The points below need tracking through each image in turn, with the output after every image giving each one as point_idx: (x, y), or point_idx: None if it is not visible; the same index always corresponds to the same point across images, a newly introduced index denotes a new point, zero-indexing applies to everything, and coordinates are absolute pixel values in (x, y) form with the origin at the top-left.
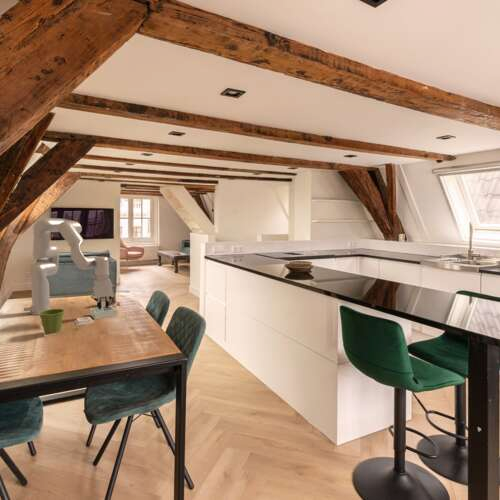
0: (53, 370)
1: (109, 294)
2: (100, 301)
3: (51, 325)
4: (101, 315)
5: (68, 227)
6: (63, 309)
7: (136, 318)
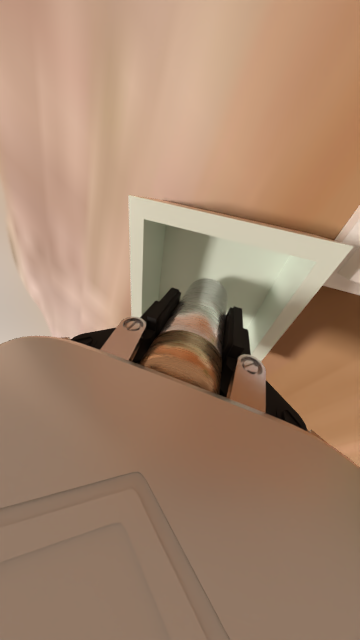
0: None
1: (34, 366)
2: (220, 357)
3: None
4: (270, 225)
5: None
6: None
7: (30, 7)
